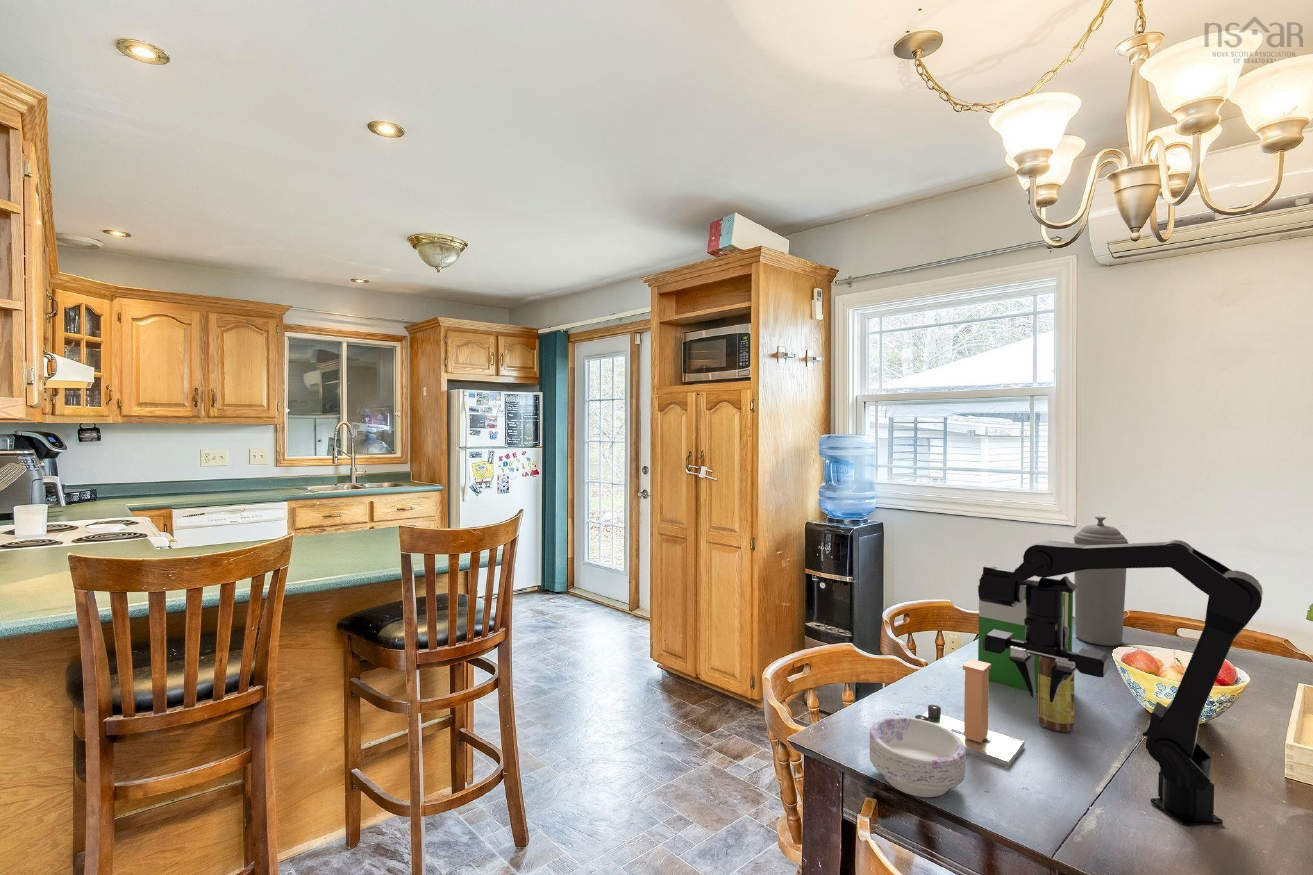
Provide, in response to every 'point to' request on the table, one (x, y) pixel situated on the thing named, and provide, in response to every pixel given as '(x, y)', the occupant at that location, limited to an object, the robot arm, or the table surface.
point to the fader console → (990, 749)
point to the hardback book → (1014, 623)
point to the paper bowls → (917, 755)
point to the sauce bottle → (1062, 708)
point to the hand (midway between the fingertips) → (1042, 699)
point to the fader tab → (976, 700)
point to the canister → (1100, 591)
